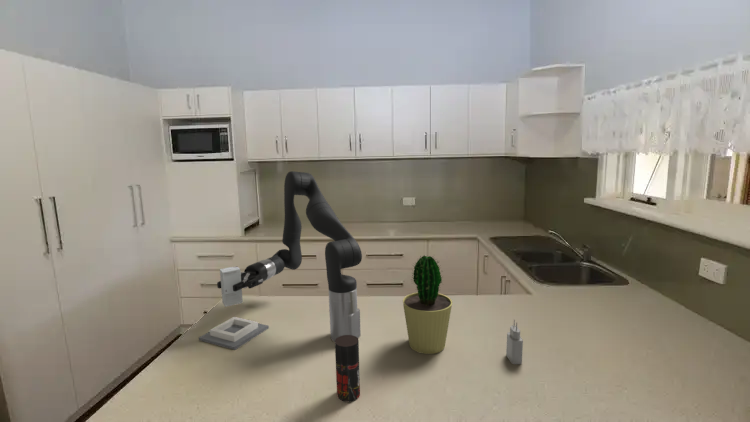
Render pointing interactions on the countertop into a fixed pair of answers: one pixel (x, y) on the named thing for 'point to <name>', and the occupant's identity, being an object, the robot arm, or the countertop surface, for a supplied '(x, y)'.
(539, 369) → the countertop surface
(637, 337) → the countertop surface
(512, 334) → the power adapter
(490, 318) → the countertop surface
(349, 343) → the deodorant
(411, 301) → the potted cactus
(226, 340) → the socket plate
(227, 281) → the skincare box
